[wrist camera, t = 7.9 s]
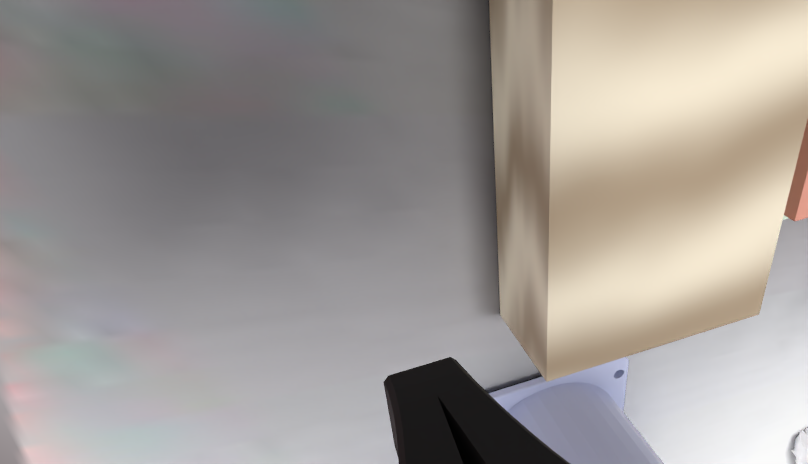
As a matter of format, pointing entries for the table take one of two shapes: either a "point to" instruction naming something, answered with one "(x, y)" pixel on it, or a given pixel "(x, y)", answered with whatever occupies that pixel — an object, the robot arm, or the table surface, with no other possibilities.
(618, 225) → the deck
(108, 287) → the table surface
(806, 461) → the seated beast figurine
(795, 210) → the salmon pink block
